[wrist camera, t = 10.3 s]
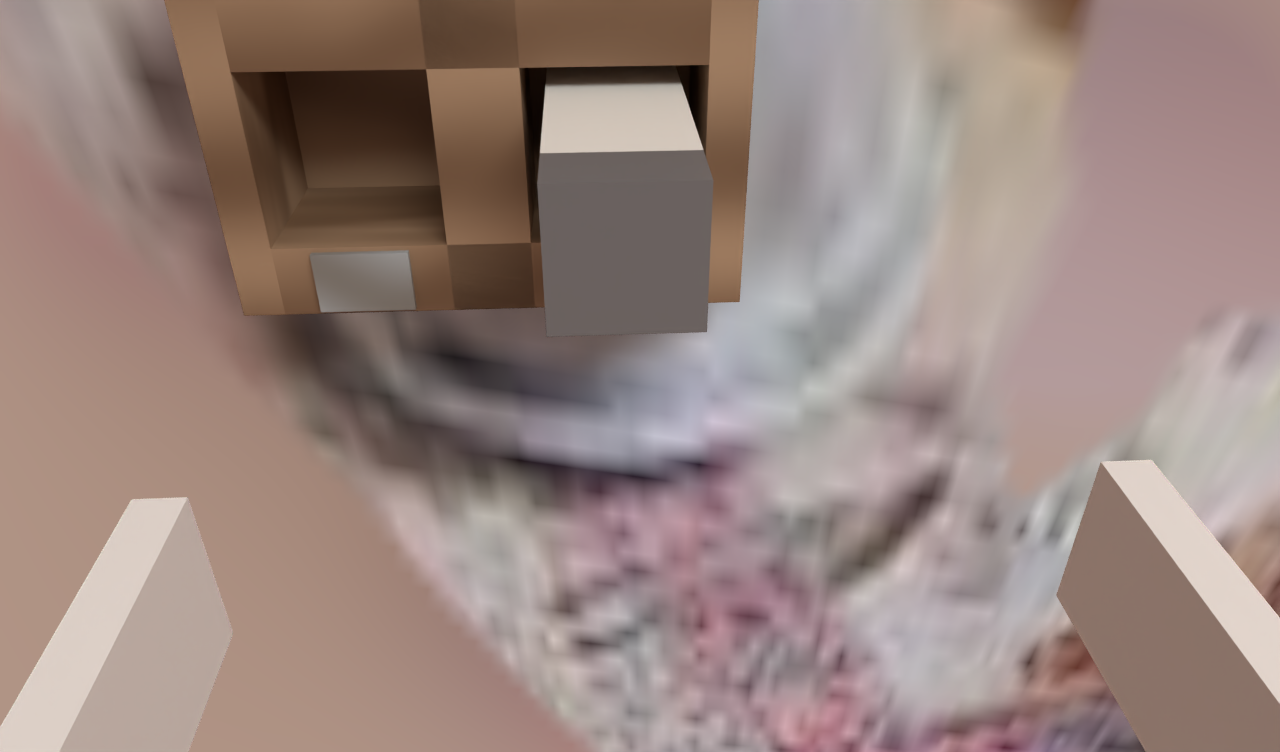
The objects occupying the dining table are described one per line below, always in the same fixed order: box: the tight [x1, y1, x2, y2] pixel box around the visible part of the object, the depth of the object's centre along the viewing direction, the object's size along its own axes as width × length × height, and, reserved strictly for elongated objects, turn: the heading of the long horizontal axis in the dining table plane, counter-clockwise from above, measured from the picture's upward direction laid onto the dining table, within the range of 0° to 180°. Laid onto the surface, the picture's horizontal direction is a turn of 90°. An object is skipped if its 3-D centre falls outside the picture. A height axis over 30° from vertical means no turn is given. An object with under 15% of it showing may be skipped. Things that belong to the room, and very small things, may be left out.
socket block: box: [164, 0, 759, 316], centre depth 31 cm, size 10×16×6 cm, turn 90°
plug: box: [537, 65, 713, 337], centre depth 28 cm, size 4×4×12 cm
